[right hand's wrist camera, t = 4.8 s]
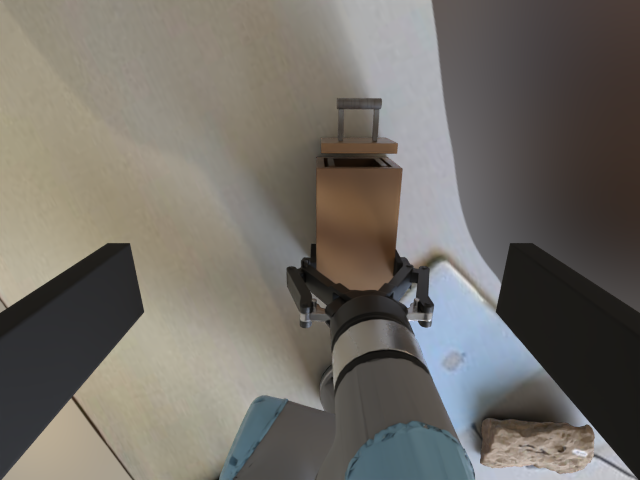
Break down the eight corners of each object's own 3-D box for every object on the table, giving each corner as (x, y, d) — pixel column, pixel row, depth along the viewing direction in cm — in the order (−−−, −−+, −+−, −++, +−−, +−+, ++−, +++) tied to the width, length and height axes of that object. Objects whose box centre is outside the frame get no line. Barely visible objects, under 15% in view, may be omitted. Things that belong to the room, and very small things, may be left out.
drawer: (321, 98, 47) (321, 97, 40) (388, 99, 47) (401, 98, 40) (320, 245, 55) (320, 267, 48) (378, 245, 55) (387, 267, 48)
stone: (606, 410, 64) (624, 444, 59) (581, 449, 73) (596, 482, 68) (483, 402, 68) (491, 434, 63) (473, 440, 76) (479, 471, 72)
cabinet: (316, 156, 51) (316, 168, 42) (387, 156, 51) (402, 168, 42) (316, 266, 57) (316, 297, 48) (379, 266, 57) (391, 297, 48)
